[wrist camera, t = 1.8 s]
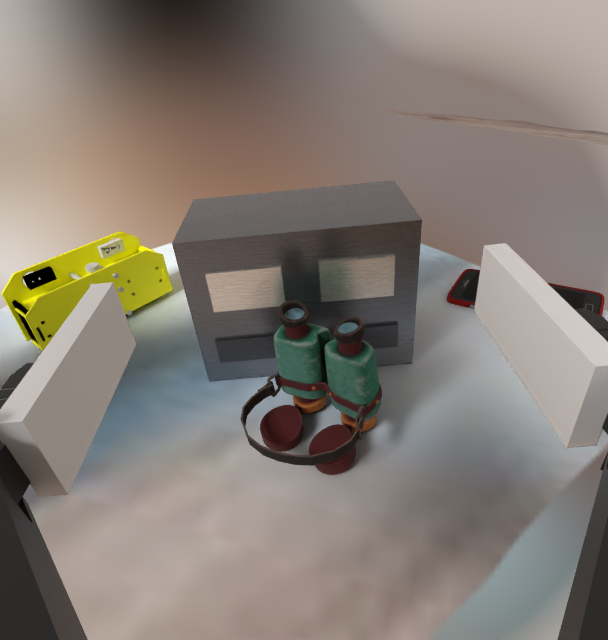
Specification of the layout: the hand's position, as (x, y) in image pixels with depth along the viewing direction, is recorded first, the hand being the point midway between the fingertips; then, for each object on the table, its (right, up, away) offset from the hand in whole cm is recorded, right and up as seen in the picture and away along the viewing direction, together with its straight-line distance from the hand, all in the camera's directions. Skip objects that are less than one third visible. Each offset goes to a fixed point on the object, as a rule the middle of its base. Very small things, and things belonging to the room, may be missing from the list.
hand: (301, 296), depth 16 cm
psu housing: (+1, -3, +29) cm, 30 cm away
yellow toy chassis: (-23, -1, +37) cm, 43 cm away
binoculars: (+1, -10, +19) cm, 22 cm away
